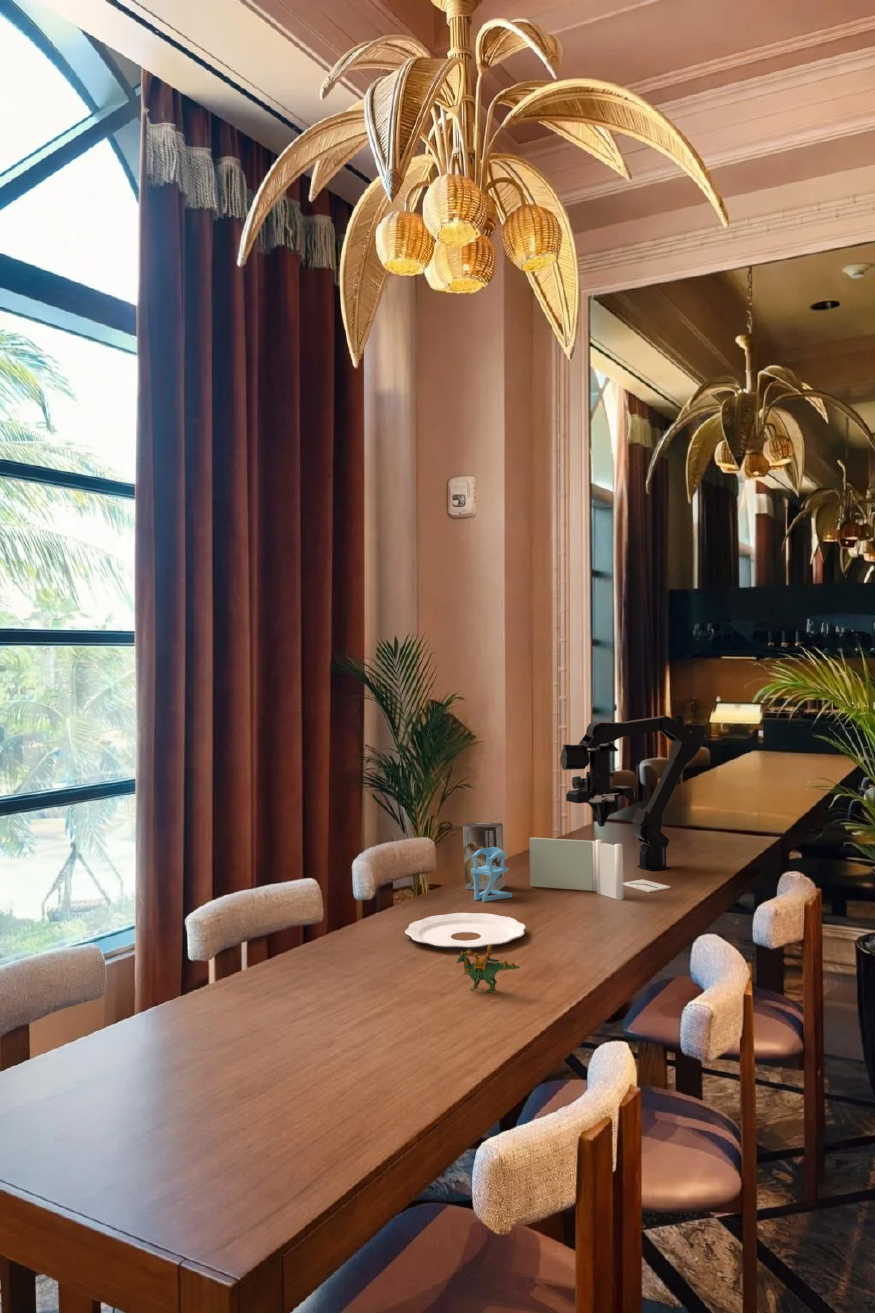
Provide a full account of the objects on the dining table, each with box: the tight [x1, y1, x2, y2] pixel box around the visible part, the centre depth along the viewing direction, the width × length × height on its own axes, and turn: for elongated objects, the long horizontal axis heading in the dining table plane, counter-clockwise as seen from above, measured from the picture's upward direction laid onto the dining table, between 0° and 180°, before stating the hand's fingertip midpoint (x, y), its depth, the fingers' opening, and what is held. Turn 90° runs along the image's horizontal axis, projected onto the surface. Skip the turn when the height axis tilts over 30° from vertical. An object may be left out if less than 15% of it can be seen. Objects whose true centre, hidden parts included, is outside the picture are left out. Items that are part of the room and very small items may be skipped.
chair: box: [471, 847, 513, 903], centre depth 239 cm, size 8×8×12 cm
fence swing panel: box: [528, 837, 597, 892], centre depth 246 cm, size 17×1×12 cm, turn 67°
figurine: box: [456, 945, 521, 994], centre depth 173 cm, size 3×12×8 cm, turn 67°
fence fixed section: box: [595, 839, 624, 901], centre depth 238 cm, size 9×2×13 cm, turn 31°
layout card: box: [623, 878, 671, 893], centre depth 247 cm, size 10×7×1 cm
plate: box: [404, 912, 527, 951], centre depth 207 cm, size 25×25×2 cm
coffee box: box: [462, 821, 505, 891], centre depth 250 cm, size 9×6×16 cm
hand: (601, 826), depth 266 cm, fingers closed
